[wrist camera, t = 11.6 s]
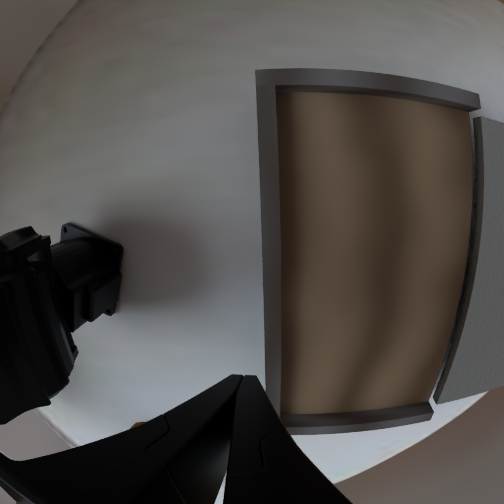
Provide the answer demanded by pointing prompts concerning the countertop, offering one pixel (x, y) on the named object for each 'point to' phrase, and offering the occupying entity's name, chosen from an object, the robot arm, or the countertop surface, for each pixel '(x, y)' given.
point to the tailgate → (481, 280)
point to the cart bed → (360, 242)
